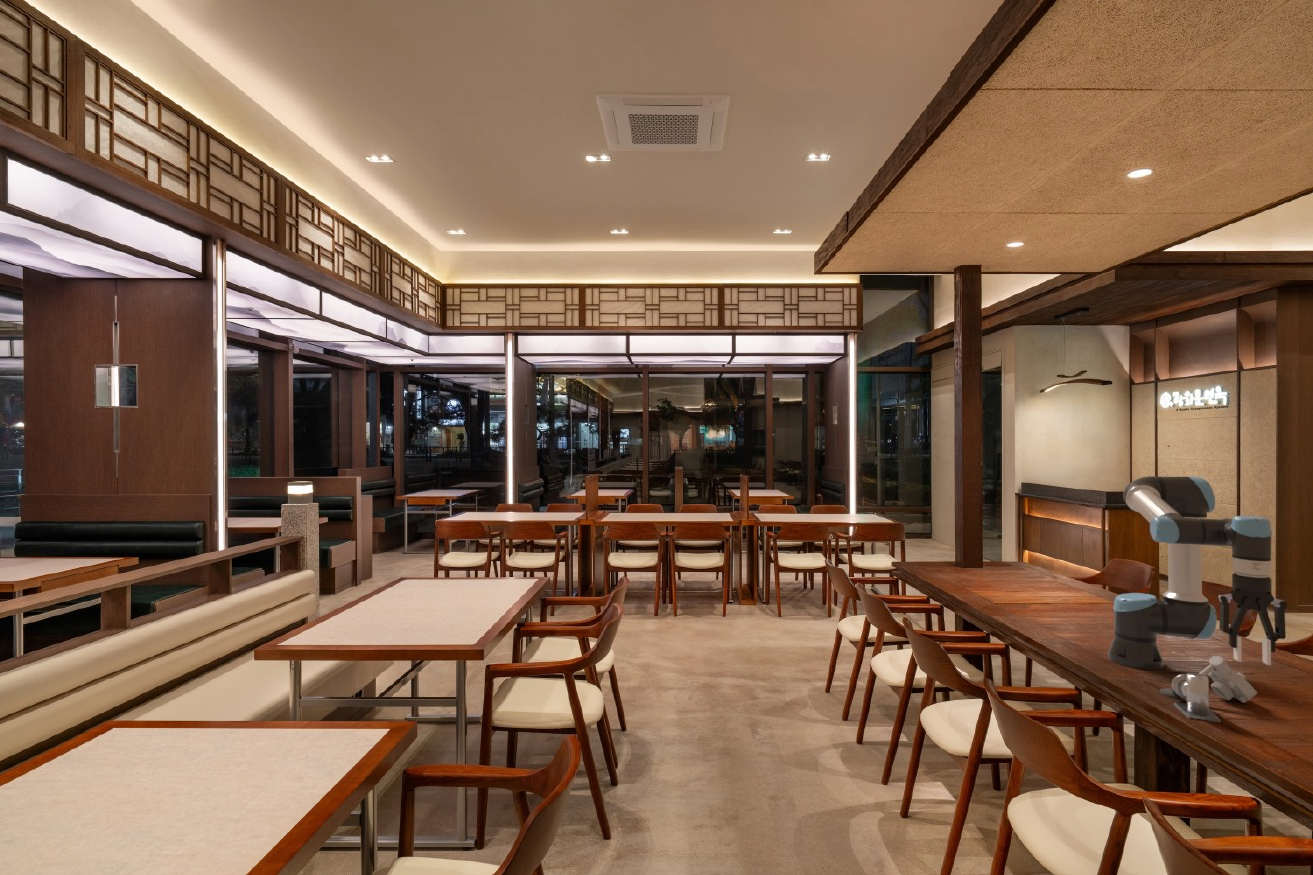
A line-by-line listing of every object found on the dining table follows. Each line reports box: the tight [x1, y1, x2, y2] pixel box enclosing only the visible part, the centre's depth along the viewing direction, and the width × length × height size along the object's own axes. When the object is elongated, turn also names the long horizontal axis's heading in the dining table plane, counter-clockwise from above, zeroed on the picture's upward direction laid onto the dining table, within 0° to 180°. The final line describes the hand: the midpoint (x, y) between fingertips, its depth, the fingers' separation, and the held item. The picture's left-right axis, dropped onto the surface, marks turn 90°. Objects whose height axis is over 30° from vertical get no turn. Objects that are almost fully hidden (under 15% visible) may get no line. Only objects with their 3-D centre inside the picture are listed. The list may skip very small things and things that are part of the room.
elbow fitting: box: [1170, 672, 1222, 723], centre depth 171 cm, size 12×7×11 cm, turn 159°
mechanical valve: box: [1171, 655, 1258, 704], centre depth 179 cm, size 10×18×15 cm
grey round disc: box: [1159, 688, 1181, 700], centre depth 183 cm, size 6×6×1 cm
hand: (1251, 661), depth 162 cm, fingers open, 5 cm apart
